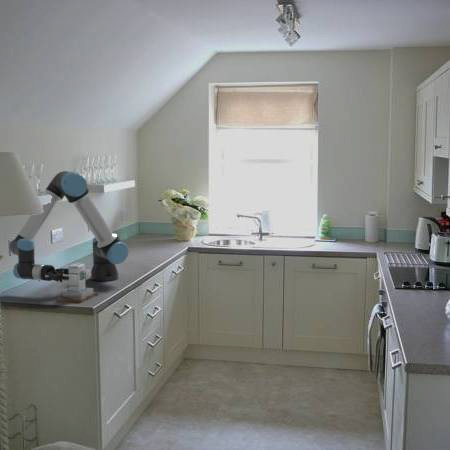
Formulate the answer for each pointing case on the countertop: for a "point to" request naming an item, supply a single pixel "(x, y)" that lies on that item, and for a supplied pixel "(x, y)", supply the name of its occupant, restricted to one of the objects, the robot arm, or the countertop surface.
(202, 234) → the countertop surface
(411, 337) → the countertop surface
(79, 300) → the carrier plate
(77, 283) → the syrup box
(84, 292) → the socket collar
